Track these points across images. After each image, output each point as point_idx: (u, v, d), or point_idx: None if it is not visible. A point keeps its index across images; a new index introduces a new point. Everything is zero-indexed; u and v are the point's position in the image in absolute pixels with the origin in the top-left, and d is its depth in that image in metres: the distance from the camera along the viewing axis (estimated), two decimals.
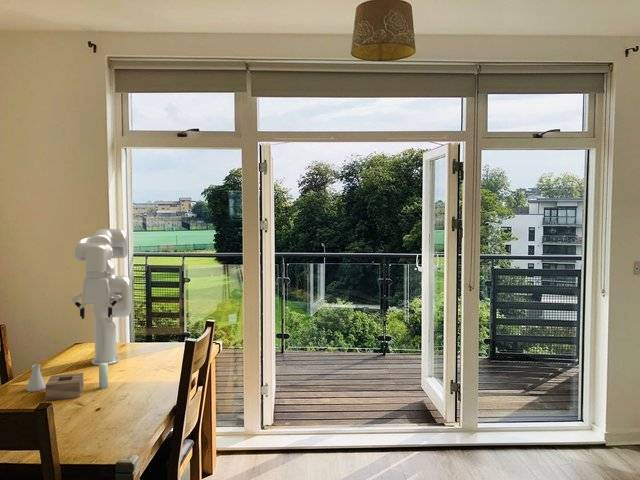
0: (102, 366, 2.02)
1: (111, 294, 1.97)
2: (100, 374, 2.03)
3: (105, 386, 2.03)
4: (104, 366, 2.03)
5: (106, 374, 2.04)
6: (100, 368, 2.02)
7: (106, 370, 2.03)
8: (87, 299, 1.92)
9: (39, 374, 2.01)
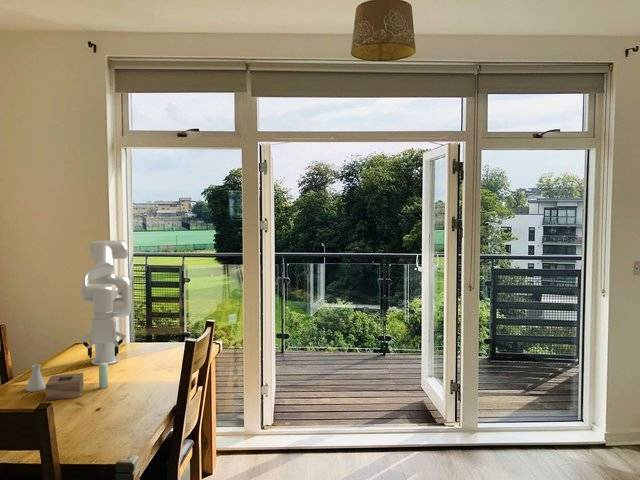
0: (102, 366, 2.02)
1: (117, 333, 2.04)
2: (100, 374, 2.03)
3: (105, 386, 2.03)
4: (104, 366, 2.03)
5: (106, 374, 2.04)
6: (100, 368, 2.02)
7: (106, 370, 2.03)
8: (94, 339, 2.00)
9: (39, 374, 2.01)
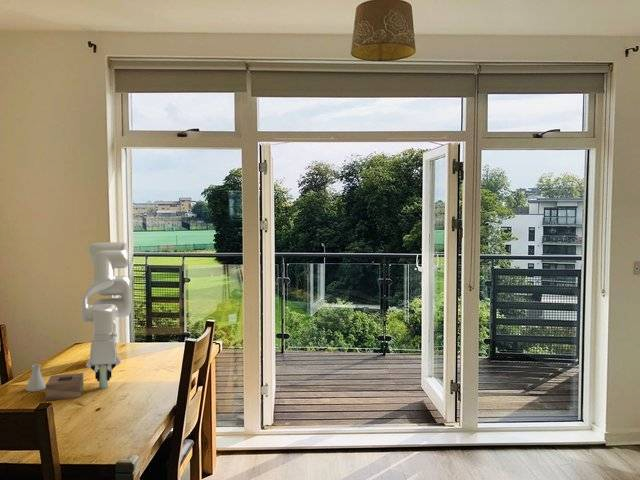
0: (102, 366, 2.02)
1: None
2: (100, 374, 2.03)
3: (105, 386, 2.03)
4: (104, 366, 2.03)
5: (106, 374, 2.04)
6: (100, 368, 2.02)
7: (106, 370, 2.03)
8: (95, 360, 2.01)
9: (39, 374, 2.01)
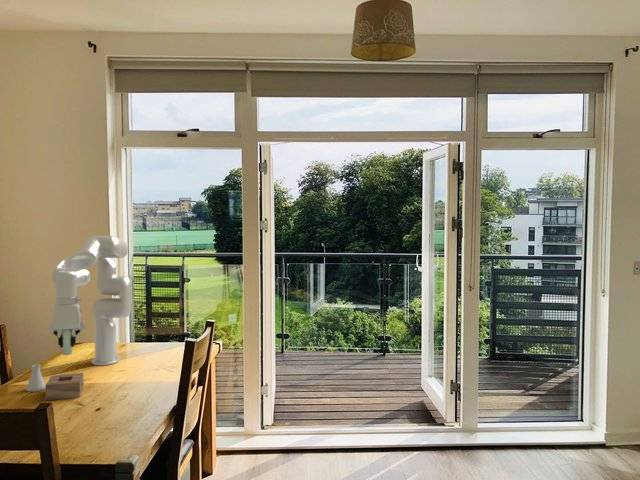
0: (65, 331, 1.94)
1: None
2: (63, 340, 1.95)
3: (69, 352, 1.95)
4: (67, 331, 1.95)
5: (70, 340, 1.96)
6: (63, 333, 1.94)
7: (70, 336, 1.95)
8: (57, 325, 1.93)
9: (39, 374, 2.01)
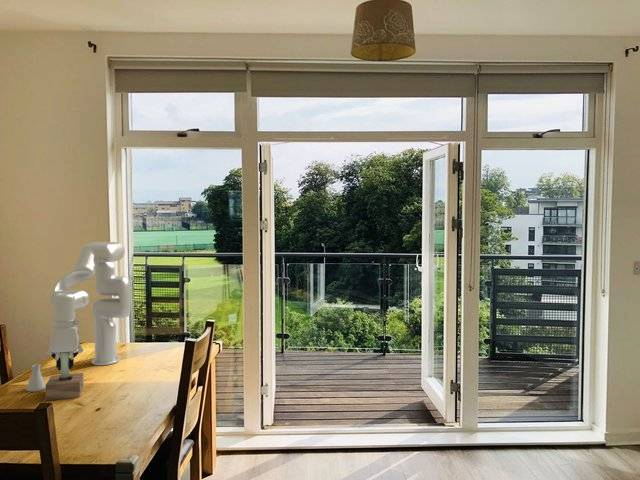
0: (63, 354, 1.94)
1: None
2: (61, 362, 1.95)
3: (66, 375, 1.95)
4: (65, 354, 1.95)
5: (68, 363, 1.96)
6: (61, 356, 1.95)
7: (68, 358, 1.96)
8: (55, 348, 1.93)
9: (39, 374, 2.01)
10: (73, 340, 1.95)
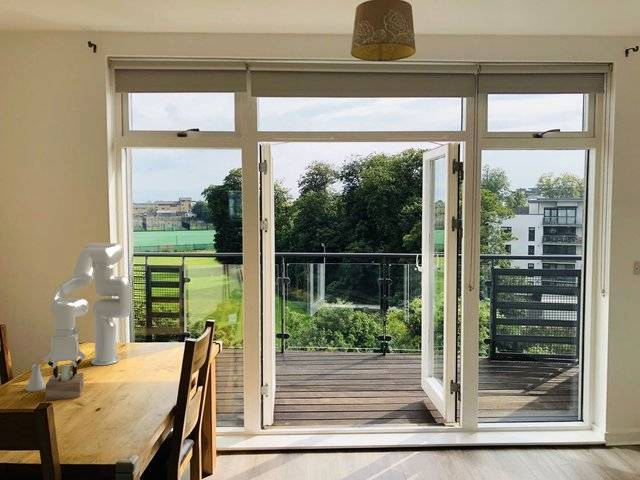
0: (64, 369, 1.95)
1: (78, 352, 1.97)
2: (62, 377, 1.95)
3: None
4: (66, 369, 1.95)
5: (68, 377, 1.96)
6: (62, 371, 1.95)
7: (68, 373, 1.96)
8: (55, 357, 1.93)
9: (39, 374, 2.01)
10: (73, 348, 1.95)
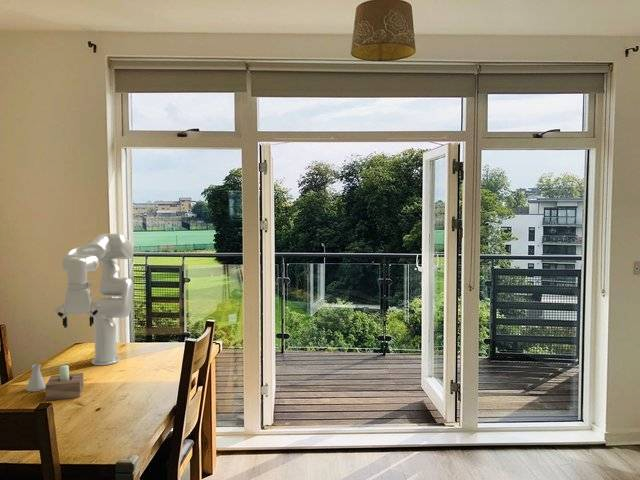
0: (62, 369, 1.95)
1: (92, 304, 2.06)
2: (60, 377, 1.95)
3: None
4: (64, 369, 1.95)
5: (67, 377, 1.96)
6: (60, 371, 1.95)
7: (67, 373, 1.96)
8: (69, 309, 2.02)
9: (39, 374, 2.01)
10: (86, 302, 2.04)
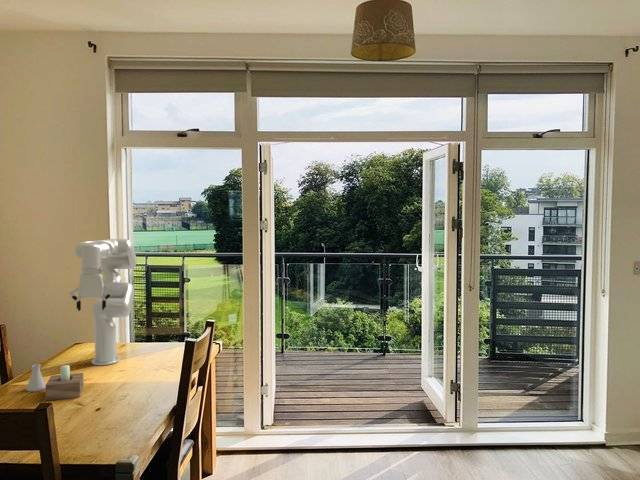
0: (63, 368, 1.95)
1: (104, 288, 2.17)
2: (61, 377, 1.95)
3: None
4: (65, 369, 1.95)
5: (67, 377, 1.96)
6: (61, 371, 1.95)
7: (67, 373, 1.96)
8: (83, 293, 2.13)
9: (39, 374, 2.01)
10: (99, 286, 2.15)
